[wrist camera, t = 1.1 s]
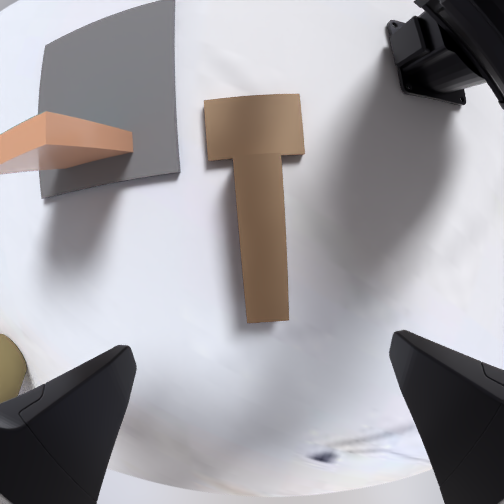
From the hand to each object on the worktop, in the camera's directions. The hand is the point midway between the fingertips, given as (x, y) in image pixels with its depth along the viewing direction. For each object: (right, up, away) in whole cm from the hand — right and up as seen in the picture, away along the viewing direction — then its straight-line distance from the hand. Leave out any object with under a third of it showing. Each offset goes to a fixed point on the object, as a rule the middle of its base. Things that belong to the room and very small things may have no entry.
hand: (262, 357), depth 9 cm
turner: (0, +6, +10) cm, 12 cm away
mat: (-12, +15, +7) cm, 20 cm away
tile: (-11, +10, +8) cm, 17 cm away
